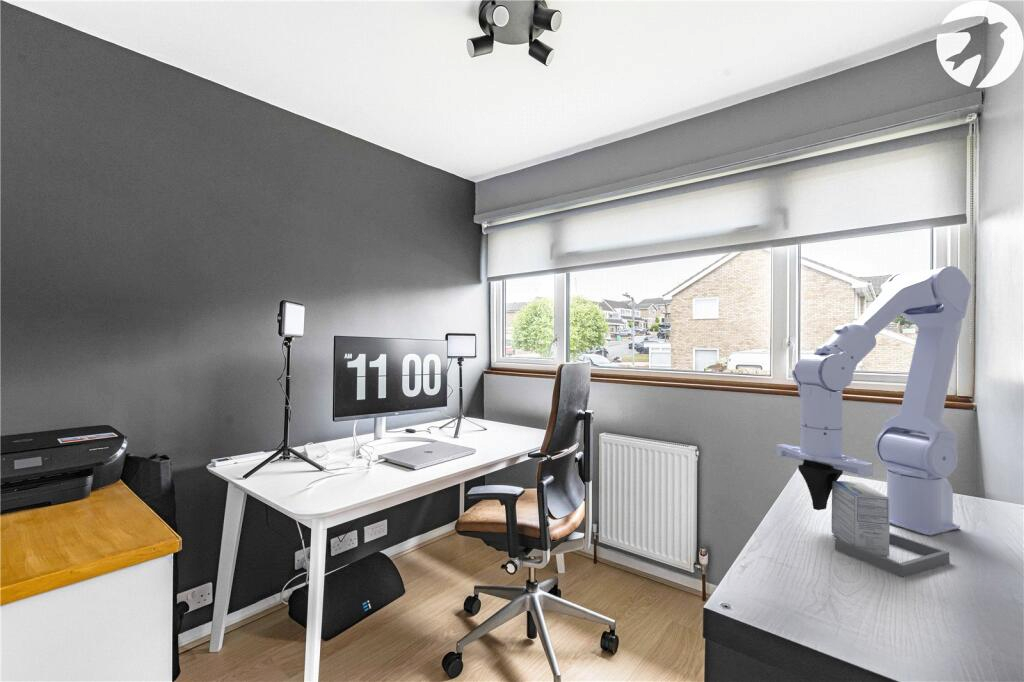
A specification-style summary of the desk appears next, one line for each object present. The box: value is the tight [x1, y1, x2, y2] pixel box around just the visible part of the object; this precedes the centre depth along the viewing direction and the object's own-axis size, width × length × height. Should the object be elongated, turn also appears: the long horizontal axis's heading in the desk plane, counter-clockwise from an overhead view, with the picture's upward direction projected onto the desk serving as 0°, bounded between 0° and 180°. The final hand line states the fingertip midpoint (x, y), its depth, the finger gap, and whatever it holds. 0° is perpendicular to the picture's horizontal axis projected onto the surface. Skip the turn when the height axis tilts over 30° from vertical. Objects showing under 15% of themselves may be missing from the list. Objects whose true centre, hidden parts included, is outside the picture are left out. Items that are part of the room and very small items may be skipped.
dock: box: [834, 531, 950, 578], centre depth 66 cm, size 11×9×2 cm
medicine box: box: [831, 480, 890, 558], centre depth 69 cm, size 8×4×9 cm, turn 167°
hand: (819, 508), depth 75 cm, fingers closed
